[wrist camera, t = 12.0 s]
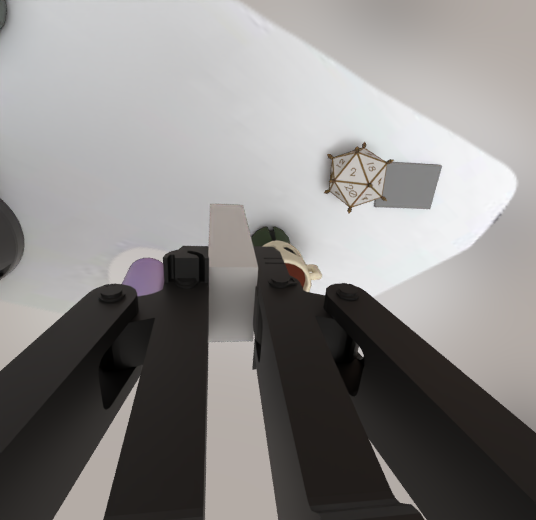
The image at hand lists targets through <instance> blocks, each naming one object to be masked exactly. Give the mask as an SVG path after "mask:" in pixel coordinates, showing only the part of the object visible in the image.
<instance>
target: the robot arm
mask: <svg viewBox="0 0 536 520" xmlns="http://www.w3.org/2000/svg"><path fill="white" fill-rule="evenodd" d="M23 251H24V235H23V231H22V228H21V225H20V223H19V221H18V219H17V217H16V216H15V214H14V213H13V211H12V210H11V209H10V208H9V207H8V205H7V204H6V203H5V202H4V201H3V200H1V199H0V280H1V279H2V278H4V277H5V276H6V275H7V274H8V273H10V272H11V271H12V270H13V269H14V268H15V267H16V266H17V264H18V263H19V261H20V259H21V257H22V255H23ZM163 269H164V285H163V289H162V290H160V291H158V292H155V293H152V294H148V295H143V296H137V292H136V289H134V288H133V287H131V286H128V285H124V284H111V285H109V284H108V285H104V286H101V287H99V288H96V289H94V290H92V291H91V292H89V293H88V294H87V295H86V296H85V297H83V298H82V299H81V300H80V301H79V302H78V303H77V304H76V305H74V306H73V307H72V308H71V309H70V310H69V311H68V312H67V313H65V314H64V315H63V316H62V317H61V318H60V319H59V320H57V321H56V322H55V323H54V324H53V325H52V326H51V327H50V328H48V329H47V330H46V331H45V332H44V333H43V334H42V335H41V336H39V337H38V338H37V339H36V340H35V341H34V342H33V343H32V344H31V345H29V346H28V347H27V348H26V349H25V350H24V351H23V352H21V353H20V354H19V355H18V356H17V357H16V358H15V359H13V360H12V361H11V362H10V363H9V364H8V365H7V366H6V367H4V368H3V369H2V370H1V371H0V520H53V518H54V516H55V515H56V513H57V511H58V510H59V508H60V506H61V505H62V503H63V502H64V500H65V498H66V497H67V495H68V493H69V492H70V490H71V489H72V487H73V485H74V484H75V482H76V480H77V479H78V477H79V475H80V474H81V472H82V470H83V469H84V467H85V465H86V464H87V462H88V461H89V459H90V457H91V456H92V454H93V452H94V450H95V449H96V447H97V446H98V444H99V442H100V441H101V439H102V438H103V436H104V434H105V433H106V431H107V429H108V428H109V426H110V424H111V423H112V421H113V419H114V418H115V416H116V414H117V413H118V411H119V410H120V408H121V406H122V405H123V403H124V401H125V399H126V398H127V396H128V395H129V393H130V391H131V390H132V388H133V387H134V385H135V383H136V382H137V380H138V378H139V377H140V379H139V383H138V387H137V391H136V395H135V399H134V402H133V406H132V410H131V414H130V418H129V422H128V426H127V430H126V434H125V437H124V442H123V445H122V449H121V453H120V457H119V461H118V465H117V469H116V473H115V477H114V480H113V484H112V488H111V492H110V496H109V500H108V504H107V508H106V512H105V516H104V519H103V520H205V487H206V437H207V390H208V386H207V385H208V342H238V341H253V332H254V334H255V343H254V356H253V369H257V376H258V383H259V389H260V396H261V403H262V409H263V416H264V423H265V430H266V437H267V445H268V451H269V458H270V465H271V472H272V479H273V486H274V493H275V500H276V506H277V513H278V520H424V518H423V517H422V515H421V513H420V512H419V511H418V510H417V509H415V508H414V507H413V506H412V505H411V504H403V503H400V502H399V501H398V500H397V499H396V498H395V497H394V495H393V493H392V491H391V489H390V487H389V484H388V482H387V480H386V478H385V475H384V473H383V471H382V468H381V466H380V464H379V462H378V459H377V457H376V455H375V452H374V450H373V448H372V446H371V443H372V444H373V445H374V447H375V448H376V449H377V451H378V452H379V454H380V455H381V456H382V458H383V459H384V460H385V462H386V463H387V465H388V466H389V468H390V469H391V470H392V472H393V473H394V474H395V476H396V477H397V479H398V480H399V481H400V483H401V484H402V486H403V487H404V488H405V490H406V491H407V493H408V494H409V496H410V497H411V498H412V500H413V501H414V503H415V504H416V505H417V507H418V508H419V510H420V511H421V512H422V514H423V515H424V517H425V518H426V519H427V520H536V433H535V432H534V431H533V430H532V429H530V428H529V427H528V426H527V425H526V424H524V423H523V422H522V421H521V420H520V419H518V418H517V417H516V416H515V415H514V414H512V413H511V412H510V411H509V410H507V409H506V408H505V407H504V406H503V405H502V404H500V403H499V402H498V401H497V400H495V399H494V398H493V397H492V396H491V395H490V394H488V393H487V392H486V391H485V390H484V389H482V388H481V387H480V386H479V385H478V384H476V383H475V382H474V381H473V380H472V379H470V378H469V377H468V376H467V375H465V374H464V373H463V372H462V371H461V370H459V369H458V368H457V367H456V366H455V365H453V364H452V363H451V362H450V361H449V360H447V359H446V358H445V357H444V356H442V355H441V354H440V353H439V352H438V351H437V350H435V349H434V348H433V347H432V346H431V345H429V344H428V343H427V342H426V341H425V340H423V339H422V338H421V337H420V336H419V335H417V334H416V333H415V332H414V331H412V330H411V329H410V328H409V327H408V326H407V325H405V324H404V323H403V322H402V321H400V320H399V319H398V318H397V317H396V316H394V315H393V314H392V313H391V312H390V311H388V310H387V309H386V308H385V307H384V306H383V305H381V304H380V303H379V302H378V301H376V300H375V299H374V298H373V297H372V296H370V295H369V294H368V293H367V292H366V291H364V290H362V289H361V288H359V287H356V286H354V285H352V284H347V283H342V284H333V285H330V286H329V287H328V288H326V294H325V295H320V294H314V293H310V292H306V291H304V290H303V288H302V285H301V283H300V282H299V281H298V279H296V278H294V277H292V276H290V275H289V273H288V270H287V268H286V265H285V263H284V260H283V258H282V255H281V253H280V251H278V250H277V249H276V248H274V247H264V246H253V244H252V240H251V236H250V232H249V228H248V223H247V219H246V215H245V211H244V207H243V205H231V204H210V224H209V246H182V247H181V248H180V249H179V250H175V251H171V252H169V253H167V254H165V256H164V257H163ZM359 347H360V348H361V350H362V352H363V354H364V357H362V356H361V355H360V354H359V353H358V348H359ZM368 438H369V439H368ZM369 440H370V441H371V443H370V441H369Z"/></svg>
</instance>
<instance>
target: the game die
mask: <svg viewBox="0 0 536 520" xmlns="http://www.w3.org/2000/svg"><path fill="white" fill-rule="evenodd" d="M365 147H366V143H365V142H364V143H363V144H362V148H360V149H359V147H356V148H355V150H354V151H351V152H348V153H345V154H342V155H339V156H336V157H333V155H331V154H327V155H328V158H330V159H332V164H331V175H330V181H329V182H330V185H329V190H326V191H325V192H324V193H326V194H328V193H329V192H331V193H333V194H334V195H335V196H336V197H337V198H339V199H340V200H341V201H342V202H344V203H345V204H346V205H347V206H349V208H348V210H347V211H348V213H350V212H351V210H352V209H351V208H352V207H355V206H358V205H361V204H364V203H367V202H370V201H373V200H376V199H379V198H381V199H382V200H383V201H387V199H386V198H385V196H382V195H383V189H384V182H385V176H386V170H387V164H390V163H392V162H393V161H394V160H388V161H387V162H385V161H384V160H382V159H381V158H379V157H378V156H376V155H375V154H373V153H371V152H370V151H368V150H367V149H365Z"/></svg>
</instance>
